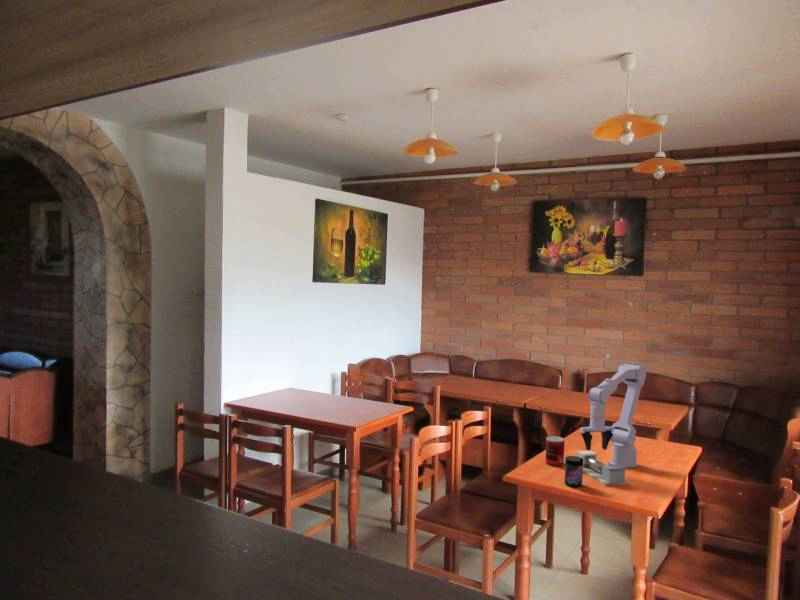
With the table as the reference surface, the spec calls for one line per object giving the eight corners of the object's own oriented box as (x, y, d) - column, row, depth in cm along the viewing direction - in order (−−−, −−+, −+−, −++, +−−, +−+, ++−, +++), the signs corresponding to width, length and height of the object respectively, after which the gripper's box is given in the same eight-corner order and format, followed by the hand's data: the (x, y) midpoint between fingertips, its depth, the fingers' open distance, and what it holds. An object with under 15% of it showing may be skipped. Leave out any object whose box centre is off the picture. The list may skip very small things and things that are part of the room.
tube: (576, 461, 249) (576, 451, 249) (584, 460, 250) (584, 451, 250) (601, 476, 231) (602, 466, 231) (610, 475, 232) (611, 465, 232)
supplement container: (561, 485, 223) (562, 458, 223) (568, 480, 229) (569, 454, 228) (578, 489, 219) (579, 462, 219) (584, 484, 225) (586, 458, 224)
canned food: (562, 461, 253) (563, 436, 253) (565, 467, 245) (565, 441, 245) (544, 460, 254) (545, 435, 254) (546, 465, 246) (547, 440, 246)
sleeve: (575, 463, 247) (576, 451, 247) (589, 462, 249) (590, 450, 249) (582, 467, 242) (582, 454, 242) (596, 466, 244) (596, 453, 244)
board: (569, 464, 249) (569, 462, 249) (590, 463, 251) (590, 460, 251) (606, 486, 223) (606, 483, 223) (628, 484, 226) (628, 482, 226)
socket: (601, 478, 229) (602, 465, 229) (616, 477, 231) (617, 464, 230) (609, 483, 224) (610, 469, 224) (624, 482, 225) (625, 468, 225)
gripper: (607, 414, 244) (605, 445, 244) (576, 415, 240) (575, 447, 241) (617, 418, 237) (616, 450, 237) (586, 419, 233) (584, 452, 234)
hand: (596, 449), depth 239 cm, fingers open, 7 cm apart
